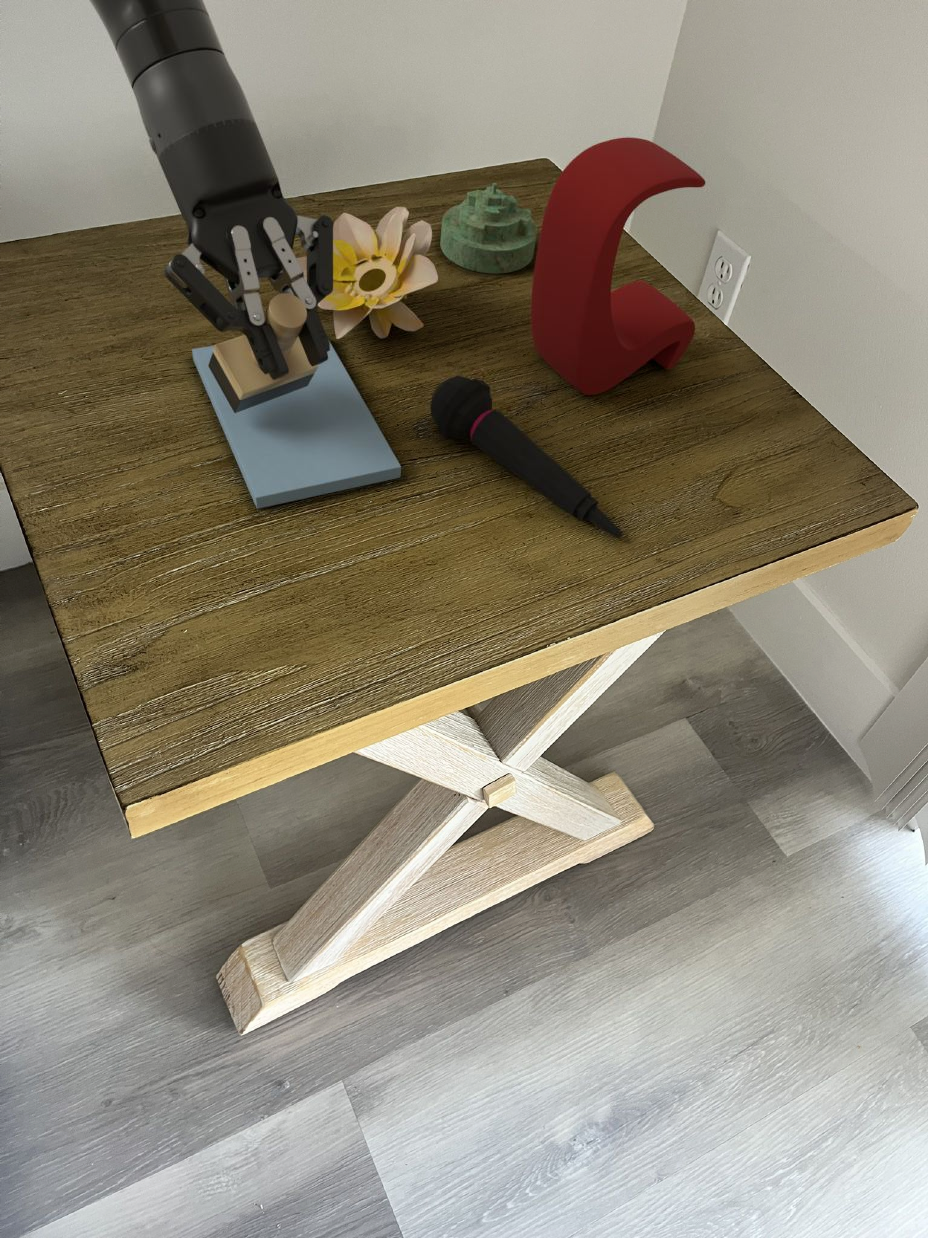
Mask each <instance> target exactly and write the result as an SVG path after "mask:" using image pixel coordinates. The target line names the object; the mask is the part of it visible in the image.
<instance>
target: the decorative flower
mask: <svg viewBox="0 0 928 1238" xmlns="http://www.w3.org/2000/svg"><path fill="white" fill-rule="evenodd" d="M409 214H410V212H409V210H408V209H407V208H406V207H405V206H396V207H393V208H392V209H390V211H388V212H387V213H386V214H385V215H384V216H382V218H381V219H380V220H379V223H378V224H377V226H376V229H375V230H374V229H373V228H372V227H371V225H370V224H369V223H368V222H366V221H364V220H362V219H360V218H358V217H356V216H354V215H352V214H351V213H347V212H343V213H342V214H340V215H339V216H338V217H337V218H336V219H335V220H334V222H333V291H332V293H330V294H329V295H328V296H326V297H325V298H324V299H323V300H321V301H320V302H319V303H318V305H317V307H319V308H320V309H321V310H329V311H333V312H332V318H333V326H334V327H333V328H334V333H335V335H334V336H335V338H336V340H339V339H341V338H343V337H344V336H345V335H347V334H348V333H350V332H351V331H352V330H353V329H355V328H356V327H357V326H358V325H359V324H360V323H361V322H362V321H363V320H364V319H365V318H366V317H367V316H368V317H369V318H368V319H369V321H370V326H371V330H372V331H373V333H374V334H375V335H376V336H377V337H378V338H380V339H385V338H387V337H388V336H389V334H390V330H391V326H392V324H393V325H394V326H395V327H397V328H399V329H401V330H404V331H406V332H415V331H418V330H420V329H421V328H423V327H424V326H425V324H424V323H423V322H422V320H420V319H419V317H418V316H417V315H416V313H414V312H413V311H412V310H411V309H410V308H409V307H408V305H406V304H405V303H404V302H402V301H401V300H402V299H404V300H407V299H408V297H407V295H408V294H410V293H413V292H417V291H419V290H422V289H424V288H427V287H429V286H432V285H434V284H436V283H437V282H438V281H439V275H438V272H437V269H436V266H435V264H434V263H433V262H432V261H431V260H430V259H429V258H428V257H426V254H427V253H428V251H429V249H430V246H431V242H432V238H433V231H432V226H431V224H430V223H428V222H426V221H425V220H423V219H421V220H419V221H417V222H415V223H413V224H411V225H410V227H409V228H408V229H407V230H406V232H405V233H404V229H405V227H406V224H407V221H408V218H409ZM403 233H404V235H403ZM296 258H297V260H298V262H299V264H300V265H301V267H302V269H303V272H304V279H305V281H306V282H307V255H305V256H301V257H296Z"/></svg>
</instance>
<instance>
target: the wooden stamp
mask: <svg viewBox="0 0 928 1238" xmlns="http://www.w3.org/2000/svg"><path fill="white" fill-rule="evenodd" d="M264 314H265V324H266V325H268V324H270V325H271V327H272V329H273V332H274V334H275V337H276V339H277V341H278V344H279V346H280V349H281V351H282V353H283V356H284V358H285V361H286V363H287V366H288V369H289V373H288V374H287V375H285V376H283V377H281V378H278V379H276V380H273V379H272V378H271V377H270V374H269V373H268V374H264V373H263V372H262V371H261V369H260V368H259V365H258V363H257V360H256V358H255V356H254V353H253V351H252V349H251V346H250V344H249V341H248V339H247V337H246V336H245V335H244V334H243V335H240V336H237V337H234V338H232V339H228V340H225V341H222V342H219V343H216V344H215V345H214V346H215V347H214V350H213V353H212V356H211V359H210V362H209V365H208V366H209V368H210V370H211V372H212V374H213V375H214V377H215V379H216V381H217V383H218V384H219V386H220V388H221V390H222V392H223V393H224V395H225V397H226V399H227V401H228V402H229V404H230V406H231V408H232V410H233V411H234V413H237V412H240V411H243V410H245V409H248V408H251V407H253V406H256V405H259V404H261V403H264V402H267V401H269V400H272V399H275V398H277V397H280V396H283V395H285V394H288V393H291V392H293V391H296V390H299V389H301V388H304V387H307V386H308V384H309V383H310V381H311V379H312V377H313V376H314V374H315V372H316V370H317V368H318V365H316V366H311V365H310V363H309V361H308V359H307V356H306V354H305V351H304V349H303V346H302V344H301V342H300V339H299V337H298V335H299V333H300V331H301V329H302V327H303V325H304V323H305V321H306V318H307V310H306V307H305V305H304V303H303V302H302V301H301V300H300V299H299V298H297V297H296V296H294V295H292V294H287V293H282V294H280V293H278V294H276V295H274V296H273V297H272V298H271V300H270V301H269V304H268V307H267V309H266V311H265V313H264Z"/></svg>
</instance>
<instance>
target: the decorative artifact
mask: <svg viewBox="0 0 928 1238" xmlns="http://www.w3.org/2000/svg"><path fill="white" fill-rule="evenodd" d="M441 219H442V220H441V230H440V240H439V241H440V243H439V244H440V246H439V247H440V249H441V251H442V253H443V255H444V256H445V257H446V258H447V259H448V260H449V261H451V262H452V263H453V264H454V265H457V266H459V267H461V268H464V269H466V270H469V271H473V272H476V273H483V274H493V275H497V274H498V275H499V274H508V273H512V272H513V273H514V272H516V271H519V270H521V269H524V268H525V267H526V266H528V265H529V264H530V263H531V261H532V260H533V258H534V253H535V248H536V247H535V246H536V241H537V236H538V235H537V234H538V228H537V225H536V222H535V221H534V220H533V219H532V211H531V209H530V208H521V206H520V205H519V204H518V201H517V199H516V198H515V197H514V195H512V194H510V195H506V194H504V192H503V191H502V190H501V189H499V188H498V183H497V182H493V183H492V186H486V187H485V190H484V189H483V190H481V189H480V190H479V189H476V190H473V191H468V192H466V198H465V199H463V201H462V202H461V203H459V204H457V205H454V206H452V207H450V208H449V209H448V210H446V211H445V213H444V214H443V216H442V218H441Z"/></svg>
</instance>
